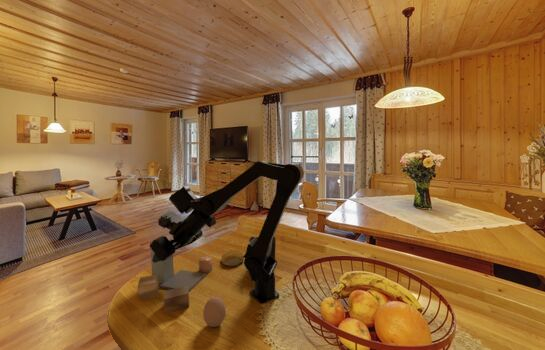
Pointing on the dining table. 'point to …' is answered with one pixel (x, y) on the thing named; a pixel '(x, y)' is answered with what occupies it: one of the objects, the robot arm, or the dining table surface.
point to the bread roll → (232, 257)
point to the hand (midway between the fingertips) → (164, 255)
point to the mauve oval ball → (214, 312)
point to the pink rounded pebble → (205, 264)
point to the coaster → (183, 280)
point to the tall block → (162, 268)
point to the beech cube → (147, 287)
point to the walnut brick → (176, 299)
